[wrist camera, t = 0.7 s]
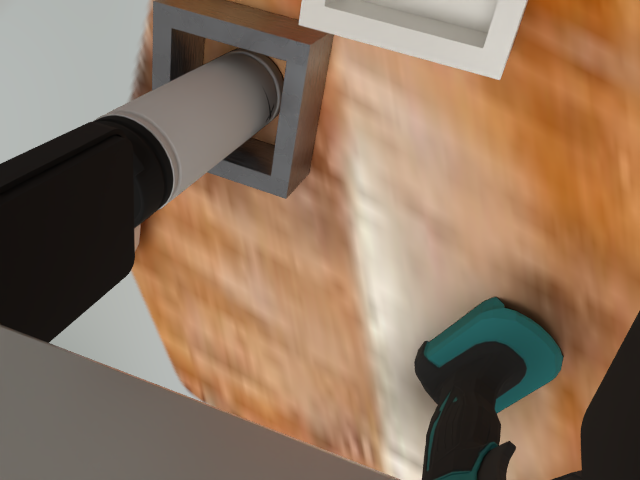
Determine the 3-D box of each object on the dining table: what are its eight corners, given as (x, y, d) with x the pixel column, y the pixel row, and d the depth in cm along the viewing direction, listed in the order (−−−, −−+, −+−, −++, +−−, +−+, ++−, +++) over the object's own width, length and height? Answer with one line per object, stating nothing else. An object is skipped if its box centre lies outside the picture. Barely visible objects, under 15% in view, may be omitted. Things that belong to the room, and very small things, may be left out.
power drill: (588, 217, 45) (596, 493, 25) (676, 295, 46) (754, 628, 25) (373, 380, 60) (270, 633, 40) (441, 437, 61) (374, 715, 41)
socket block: (189, -10, 47) (153, 1, 43) (334, 29, 45) (310, 45, 41) (183, 132, 54) (151, 153, 50) (309, 173, 51) (286, 198, 47)
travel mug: (304, 97, 48) (166, 208, 32) (247, 137, 52) (97, 255, 36) (257, 28, 47) (87, 108, 31) (201, 74, 50) (24, 168, 34)
